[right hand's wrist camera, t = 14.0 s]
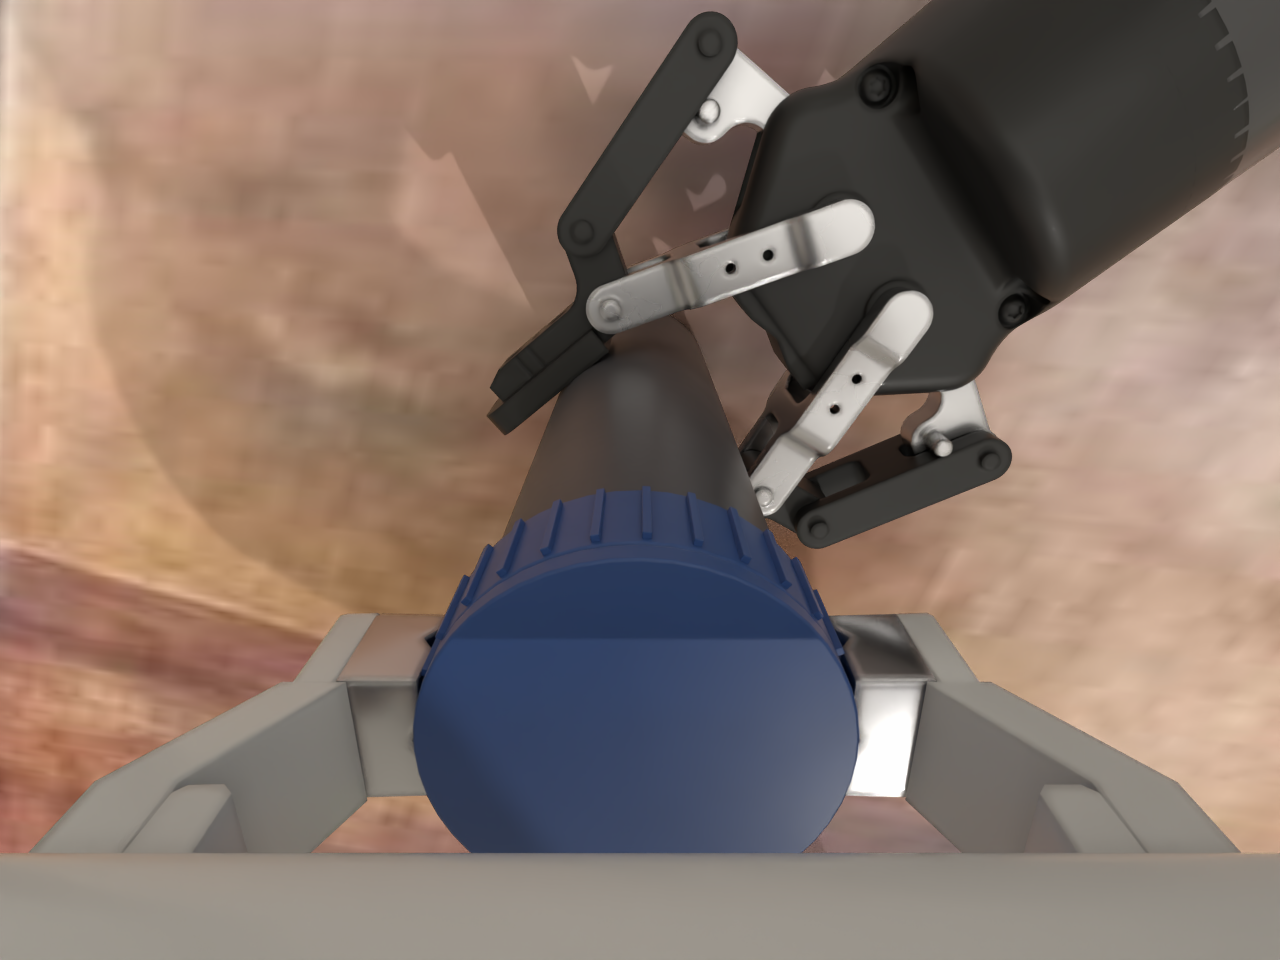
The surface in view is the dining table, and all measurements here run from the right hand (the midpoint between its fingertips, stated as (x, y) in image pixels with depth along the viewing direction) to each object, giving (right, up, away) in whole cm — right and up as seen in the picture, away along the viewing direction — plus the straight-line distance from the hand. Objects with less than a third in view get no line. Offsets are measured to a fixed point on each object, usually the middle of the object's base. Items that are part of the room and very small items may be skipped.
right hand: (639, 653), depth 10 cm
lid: (0, -1, -2) cm, 2 cm away
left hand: (-2, +2, +10) cm, 11 cm away
